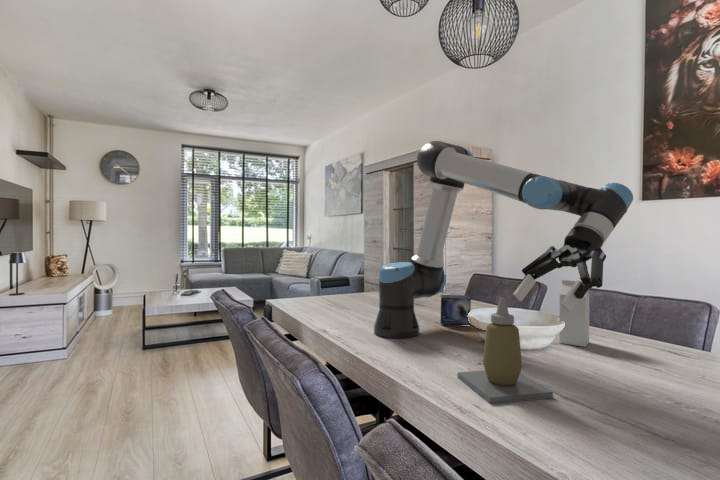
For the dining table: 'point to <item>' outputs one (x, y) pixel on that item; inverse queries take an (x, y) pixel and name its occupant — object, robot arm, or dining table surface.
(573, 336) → the milk carton
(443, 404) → the dining table surface
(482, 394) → the slate trivet
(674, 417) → the dining table surface
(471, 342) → the dining table surface
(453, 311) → the small box
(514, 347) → the squeeze bottle
